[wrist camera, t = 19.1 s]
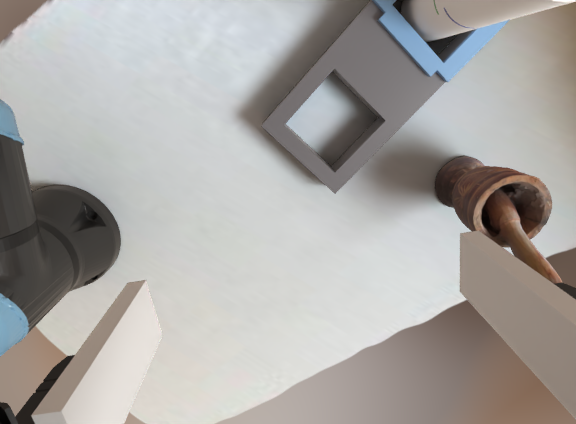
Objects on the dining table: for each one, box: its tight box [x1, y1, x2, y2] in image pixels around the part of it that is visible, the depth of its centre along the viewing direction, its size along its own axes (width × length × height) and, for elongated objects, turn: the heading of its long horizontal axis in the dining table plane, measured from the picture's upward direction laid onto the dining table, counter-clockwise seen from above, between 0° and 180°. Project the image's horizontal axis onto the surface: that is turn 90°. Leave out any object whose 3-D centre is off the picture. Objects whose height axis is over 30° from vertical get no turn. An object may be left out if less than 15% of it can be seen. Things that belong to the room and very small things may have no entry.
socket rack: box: [261, 0, 509, 193], centre depth 47 cm, size 31×13×5 cm, turn 137°
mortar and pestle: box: [435, 156, 562, 284], centre depth 45 cm, size 12×9×20 cm
